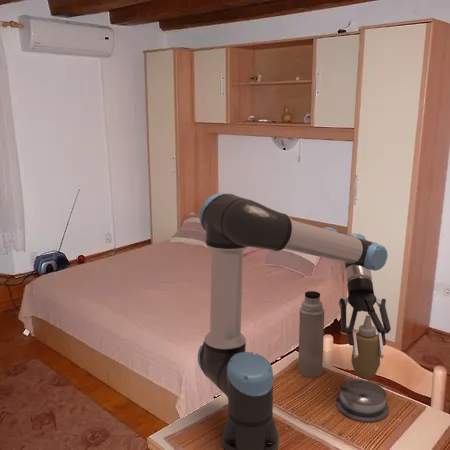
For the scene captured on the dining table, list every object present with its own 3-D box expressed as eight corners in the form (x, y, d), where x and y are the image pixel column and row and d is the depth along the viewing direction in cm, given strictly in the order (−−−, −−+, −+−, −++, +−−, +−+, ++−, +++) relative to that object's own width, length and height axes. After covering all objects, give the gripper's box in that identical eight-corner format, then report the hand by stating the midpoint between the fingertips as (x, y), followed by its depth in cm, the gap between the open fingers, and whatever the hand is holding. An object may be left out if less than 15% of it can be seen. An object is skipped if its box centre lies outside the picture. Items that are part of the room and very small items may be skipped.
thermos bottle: (299, 364, 170) (301, 288, 164) (322, 366, 168) (325, 289, 162) (297, 375, 163) (299, 296, 156) (321, 378, 161) (324, 298, 154)
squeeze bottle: (371, 384, 138) (375, 324, 133) (345, 374, 143) (348, 317, 139) (384, 372, 143) (387, 315, 139) (358, 363, 149) (361, 308, 144)
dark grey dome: (340, 422, 138) (341, 406, 137) (332, 392, 153) (333, 377, 152) (395, 423, 138) (396, 407, 136) (381, 393, 152) (382, 378, 151)
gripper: (388, 286, 152) (400, 360, 140) (325, 286, 154) (332, 360, 142) (394, 276, 146) (407, 353, 134) (329, 276, 147) (336, 352, 135)
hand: (369, 356), depth 138 cm, fingers closed on squeeze bottle, 6 cm apart
